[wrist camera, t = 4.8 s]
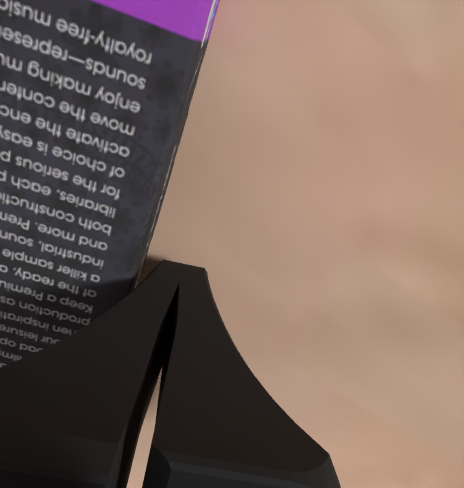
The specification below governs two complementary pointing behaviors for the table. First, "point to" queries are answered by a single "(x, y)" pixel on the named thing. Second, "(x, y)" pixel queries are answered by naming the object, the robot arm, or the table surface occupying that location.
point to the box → (86, 152)
